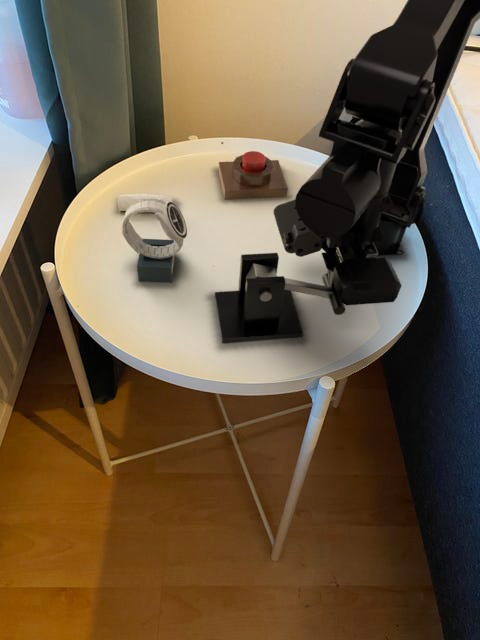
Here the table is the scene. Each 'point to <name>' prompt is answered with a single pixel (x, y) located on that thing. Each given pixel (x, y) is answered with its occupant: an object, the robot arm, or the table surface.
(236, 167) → the button block
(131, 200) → the white curved plate
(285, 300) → the bracket
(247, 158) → the button
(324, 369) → the table surface
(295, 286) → the lever
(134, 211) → the watch
